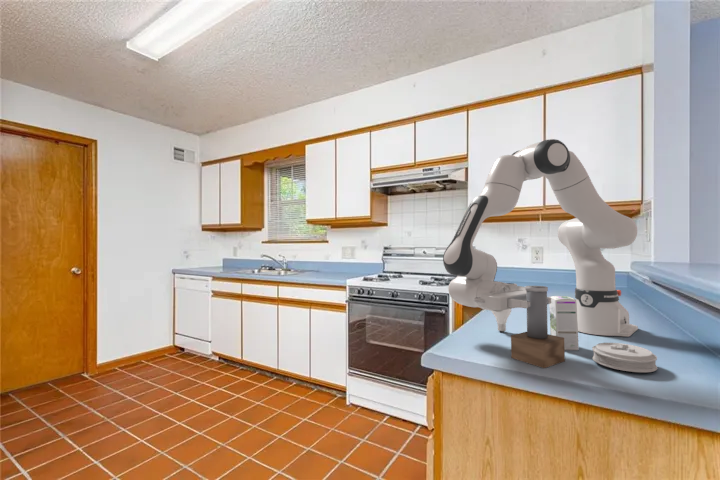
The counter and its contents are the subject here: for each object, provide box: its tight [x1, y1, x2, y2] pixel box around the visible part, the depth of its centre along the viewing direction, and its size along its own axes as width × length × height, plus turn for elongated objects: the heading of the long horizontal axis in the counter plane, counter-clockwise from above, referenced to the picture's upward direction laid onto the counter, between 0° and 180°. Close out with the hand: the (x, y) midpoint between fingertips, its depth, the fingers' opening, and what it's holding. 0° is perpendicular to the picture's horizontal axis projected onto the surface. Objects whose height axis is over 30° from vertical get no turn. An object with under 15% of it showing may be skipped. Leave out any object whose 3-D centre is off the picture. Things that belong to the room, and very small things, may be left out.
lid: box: [591, 342, 658, 373], centre depth 85 cm, size 13×13×5 cm
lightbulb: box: [491, 309, 512, 333], centre depth 118 cm, size 6×6×11 cm
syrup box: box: [549, 295, 579, 351], centre depth 100 cm, size 6×6×14 cm
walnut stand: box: [510, 331, 566, 369], centre depth 90 cm, size 9×9×6 cm
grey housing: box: [525, 285, 549, 339], centre depth 90 cm, size 5×5×13 cm
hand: (539, 302), depth 89 cm, fingers open, 8 cm apart
